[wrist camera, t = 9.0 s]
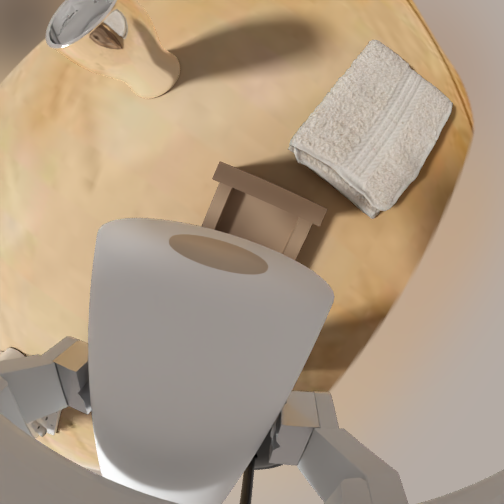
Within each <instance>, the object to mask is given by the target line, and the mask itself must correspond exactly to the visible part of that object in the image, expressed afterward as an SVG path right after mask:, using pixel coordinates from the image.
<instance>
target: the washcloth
mask: <svg viewBox="0 0 504 504" xmlns="http://www.w3.org/2000/svg"><path fill="white" fill-rule="evenodd" d="M452 104H453V103H452V102H451V101H450V100H449V99H448V98H447V97H446V96H445V95H444V94H443V93H442V92H440V90H438V89H437V88H436V87H435V86H433V85H432V84H431V83H430V82H428V81H426V80H425V79H424V78H422V76H420V75H419V74H417V72H415V71H414V70H412V69H411V68H410V67H409V64H408V63H406V61H404V60H403V59H402V58H401V57H400V56H399V55H398V54H396V53H394V52H393V51H392V50H391V49H389V48H388V47H386V46H385V45H384V44H382V43H381V42H379V41H377V40H372V41H370V42H369V44H368V45H366V48H365V49H364V50H363V52H362V53H360V55H358V56H357V59H355V60H354V61H353V63H352V64H351V67H350V68H349V69H347V71H346V72H345V74H344V75H343V76H342V77H340V78H339V79H338V81H337V82H336V84H335V85H334V87H333V88H331V91H330V92H328V93H327V94H326V96H325V98H324V99H323V101H322V102H321V103H320V104H319V105H318V106H317V107H316V109H315V110H314V112H313V113H311V114H310V116H309V118H308V119H307V121H305V122H304V123H303V125H302V126H301V127H300V128H299V129H298V131H297V133H296V134H295V135H294V136H293V138H292V139H291V141H290V144H289V145H290V146H289V148H288V150H290V151H292V152H293V153H294V154H295V157H296V159H297V161H298V163H301V164H303V165H306V166H307V167H308V168H309V169H311V170H312V171H313V172H315V173H316V174H317V175H318V176H319V177H321V178H322V179H324V180H325V181H326V182H328V183H330V184H331V185H332V186H333V187H334V188H335V189H337V190H338V191H339V192H340V193H341V194H342V195H344V196H345V197H346V198H348V199H349V200H350V201H351V202H352V203H353V204H354V205H355V206H357V208H359V209H360V210H361V211H362V212H364V213H365V214H367V215H368V216H369V217H370V218H372V219H374V218H375V216H376V215H378V214H379V212H380V210H381V211H386V210H389V209H390V208H391V207H392V206H393V205H394V204H395V203H396V202H397V200H398V198H399V197H400V196H401V194H402V193H403V191H404V190H405V189H406V188H407V187H408V186H409V184H410V183H411V182H412V181H414V180H415V179H416V177H417V176H418V174H419V171H420V169H421V168H422V166H423V164H424V162H425V160H426V158H427V157H428V155H429V153H430V152H431V150H432V148H433V147H434V145H435V144H436V141H437V139H438V137H439V134H440V132H441V130H442V128H443V127H444V125H445V123H446V122H447V120H448V118H449V115H450V114H451V111H452Z"/></svg>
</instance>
